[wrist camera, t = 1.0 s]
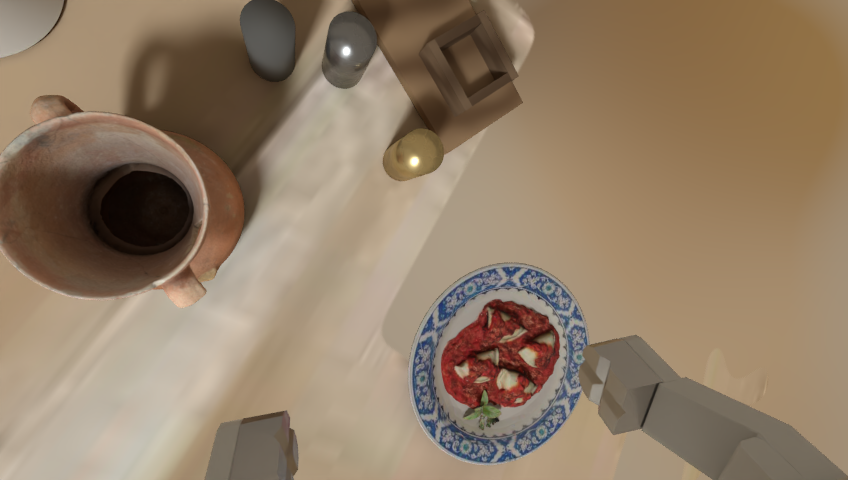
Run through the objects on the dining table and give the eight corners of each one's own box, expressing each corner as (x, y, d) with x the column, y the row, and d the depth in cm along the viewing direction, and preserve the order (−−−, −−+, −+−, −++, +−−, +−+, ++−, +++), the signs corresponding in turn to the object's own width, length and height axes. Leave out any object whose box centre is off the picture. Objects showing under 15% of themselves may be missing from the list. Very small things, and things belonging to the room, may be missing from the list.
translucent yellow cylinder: (375, 155, 45) (392, 143, 38) (406, 136, 46) (428, 120, 39) (396, 188, 46) (417, 182, 39) (426, 168, 47) (451, 158, 40)
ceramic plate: (485, 220, 50) (496, 220, 48) (609, 330, 58) (625, 336, 55) (360, 393, 47) (364, 404, 44) (510, 488, 54) (522, 503, 51)
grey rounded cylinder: (240, 50, 40) (228, 11, 33) (277, 30, 42) (274, -11, 34) (266, 89, 41) (261, 60, 34) (302, 69, 42) (305, 37, 35)
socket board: (349, -4, 44) (355, -28, 39) (434, -48, 46) (449, -75, 42) (443, 154, 48) (458, 148, 44) (516, 105, 51) (537, 95, 47)
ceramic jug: (281, 245, 43) (277, 258, 29) (148, 322, 39) (72, 376, 26) (180, 89, 39) (123, 21, 26) (23, 158, 35) (-141, 121, 22)
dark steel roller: (313, 59, 43) (318, 24, 35) (347, 40, 44) (359, 3, 36) (337, 95, 44) (346, 70, 36) (369, 76, 45) (386, 47, 37)
